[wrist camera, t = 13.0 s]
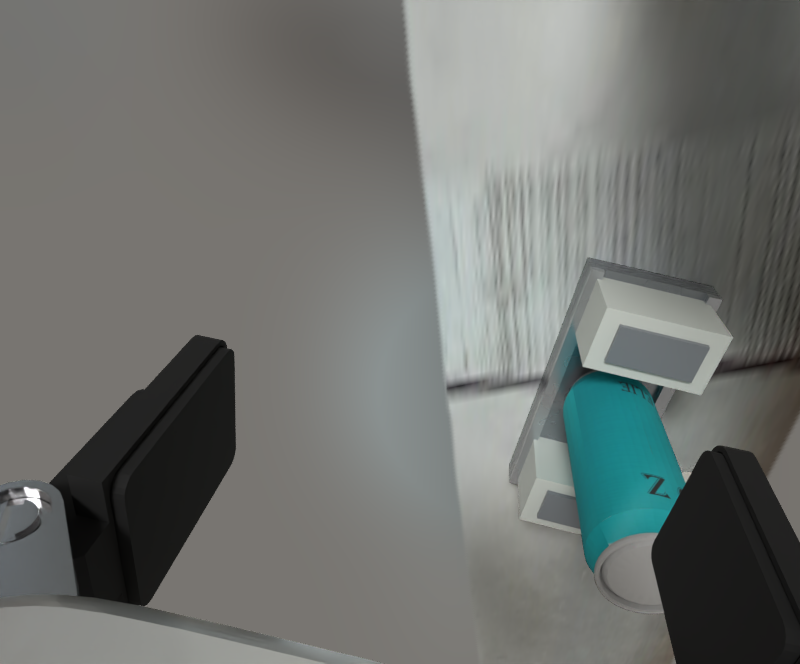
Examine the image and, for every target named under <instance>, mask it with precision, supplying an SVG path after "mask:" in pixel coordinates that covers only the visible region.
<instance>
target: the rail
mask: <svg viewBox="0 0 800 664" xmlns="http://www.w3.org/2000/svg"><path fill="white" fill-rule="evenodd" d="M603 277H605V278H609V279H613V280H617V281H622V282H626V283H630V284H634V285H639V286H643V287H647V288H651V289H656V290H660V291H664V292H668V293H673V294H677V295H681V296H685V297H690V298H694V299H698V300H702V301H704V302H705V304H707V305H711V306H712V308H713V309H714V311H715V312H717V310H718V308H719V306H720V304H721V303H722V301H723V300H722V299H721V297H720V296H719V295H718V293H717V292H716V291H715V289H714V288H713V287H712V286H708V285H703V284H699V283H695V282H691V281H686V280H682V279H678V278H674V277H669V276H665V275H661V274H656V273H652V272H648V271H644V270H639V269H635V268H631V267H627V266H622V265H618V264H614V263H610V262H605V261H601V260H597V259H592V258H587V261H586V264H585V266H584V269H583V271H582V274H581V277H580V279H579V282H578V285H577V287H576V290H575V293H574V295H573V298H572V301H571V303H570V306H569V308H568V311H567V314H566V316H565V319H564V322H563V324H562V327H561V330H560V332H559V335H558V338H557V340H556V343H555V346H554V348H553V351H552V353H551V356H550V359H549V361H548V364H547V367H546V369H545V372H544V375H543V377H542V380H541V383H540V385H539V388H538V391H537V393H536V396H535V398H534V401H533V404H532V406H531V409H530V412H529V414H528V417H527V420H526V422H525V425H524V428H523V430H522V433H521V436H520V438H519V441H518V443H517V446H516V449H515V451H514V454H513V457H512V459H511V462H510V465H509V473H510V483H513V484H517V485H518V478H519V476H520V473H521V470H522V468H523V465H524V463H525V460H526V458H527V455H528V453H529V450H530V448H531V445H532V443H533V440H538V439H539V437H543V438H547V439H551V440H555V441H559V442H563V443H567V437H566V431H565V424H564V418H563V406H564V402H565V399H566V397H567V395H568V393H569V391H570V389H571V388H572V386H573V384H574V383H575V382H576V381H577V380H578V379H579V378H580V377H581V376H583V375H584V374H586V373H588V372H590V371H593V370H595V369H590V368H586V367H583V366H582V362H581V357H580V353H579V348H578V344H577V339H576V335H575V334H576V331H577V328H578V326H579V323H580V321H581V318H582V316H583V313H584V311H585V308H586V306H587V303H588V301H589V298H590V296H591V293H592V290H593V288H594V285H595V283H596V280H597V279H601V280H602V278H603ZM638 381H639V382H640V383H641V384H643V385H644V386H645V387H646V388H647V389H648V391H649V392H650V394H651V396H652V398H653V401H654V403H655V406H656V409H657V411H658V414H659V416H660V419H661V417H662V415H663V413H664V411H665V409H666V407H667V405H668V404H669V402H670V400H671V398H672V396H673V394H674V392H675V390H676V389H673V388H669V387H665V386H661V385H656V384H652V383H648V382H644V381H640V380H638Z"/></svg>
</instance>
